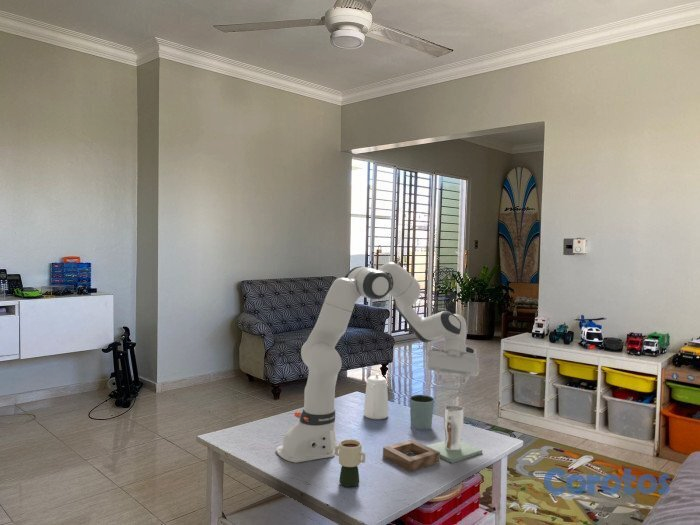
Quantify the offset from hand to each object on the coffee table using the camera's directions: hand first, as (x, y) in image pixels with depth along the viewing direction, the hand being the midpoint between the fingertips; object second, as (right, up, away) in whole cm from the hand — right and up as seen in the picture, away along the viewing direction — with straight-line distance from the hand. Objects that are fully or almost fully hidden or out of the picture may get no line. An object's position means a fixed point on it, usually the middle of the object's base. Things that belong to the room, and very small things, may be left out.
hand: (451, 382), depth 203 cm
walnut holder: (-18, -23, -19) cm, 35 cm away
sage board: (-2, -23, -11) cm, 26 cm away
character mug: (-40, -23, -39) cm, 60 cm away
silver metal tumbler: (-2, -22, -11) cm, 25 cm away
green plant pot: (-10, -22, +14) cm, 28 cm away
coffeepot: (-28, -21, +25) cm, 43 cm away
